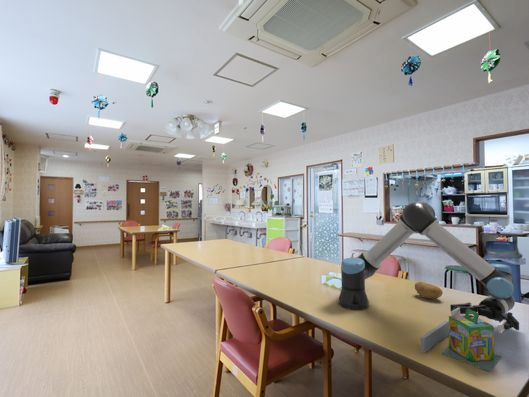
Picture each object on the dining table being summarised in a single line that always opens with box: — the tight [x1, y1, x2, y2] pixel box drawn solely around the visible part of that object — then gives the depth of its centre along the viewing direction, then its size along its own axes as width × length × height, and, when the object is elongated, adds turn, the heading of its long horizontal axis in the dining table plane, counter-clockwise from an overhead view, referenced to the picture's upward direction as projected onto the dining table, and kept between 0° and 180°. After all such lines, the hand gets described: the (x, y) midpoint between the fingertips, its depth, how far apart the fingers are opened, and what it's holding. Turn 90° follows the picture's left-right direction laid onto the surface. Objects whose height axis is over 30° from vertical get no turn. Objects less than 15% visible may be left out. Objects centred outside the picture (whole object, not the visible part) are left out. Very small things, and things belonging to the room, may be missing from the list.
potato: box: [414, 281, 444, 300], centre depth 147 cm, size 10×14×8 cm
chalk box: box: [448, 309, 495, 362], centre depth 92 cm, size 9×9×15 cm
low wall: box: [420, 320, 449, 354], centre depth 101 cm, size 1×22×5 cm, turn 126°
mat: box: [441, 346, 502, 372], centre depth 92 cm, size 13×13×1 cm
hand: (474, 321), depth 94 cm, fingers open, 13 cm apart
